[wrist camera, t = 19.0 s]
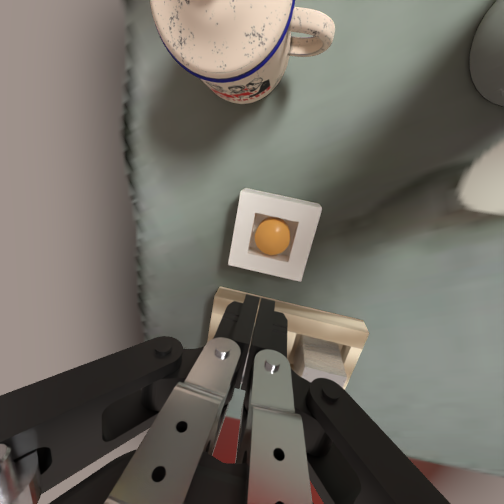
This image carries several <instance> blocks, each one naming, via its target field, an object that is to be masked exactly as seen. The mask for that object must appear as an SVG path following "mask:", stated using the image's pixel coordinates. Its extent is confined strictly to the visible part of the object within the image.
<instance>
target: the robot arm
mask: <svg viewBox="0 0 504 504" xmlns="http://www.w3.org/2000/svg"><path fill="white" fill-rule="evenodd" d="M470 72H471V77H472V80H473V82H474V84H475V87H476V89H477V90H478V91H479V92H480V93H481V95H482V96H483V97H484V98H486V99H487V100H489V101H491V102H492V103H494V104H498V105H501V106H504V0H497V1H496V2H495V3H494V4H493V5H492V6H491V8H490V9H489V10H488V11H487V13H486V15H485V16H484V18H483V20H482V21H481V23H480V24H479V27H478V29H477V31H476V34H475V36H474V39H473V43H472V47H471V51H470ZM259 300H260V297H258V296H254V295H249V294H246V296H245V299H244V302H243V303H241V302H237V301H233V302H231V303H230V304H229V305H227V307H226V310H225V312H224V315H223V317H222V319H221V322H220V324H219V326H218V329H217V331H216V333H215V336H214V338H213V339H211V340H210V341H208V342H207V344H206V345H205V347H202V348H198V349H183V346H182V344H181V343H180V342H179V341H178V340H177V339H175V338H172V337H166V336H164V337H157V338H154V339H151V340H149V341H146V342H143V343H141V344H138V345H135V346H132V347H130V348H127V349H125V350H122V351H119V352H116V353H114V354H111V355H108V356H106V357H103V358H100V359H98V360H95V361H92V362H90V363H87V364H84V365H81V366H79V367H76V368H74V369H71V370H68V371H65V372H63V373H60V374H57V375H55V376H52V377H49V378H47V379H44V380H41V381H39V382H36V383H33V384H31V385H28V386H25V387H22V388H20V389H17V390H14V391H12V392H9V393H6V394H4V395H1V396H0V504H37V503H38V501H39V499H40V496H41V494H42V493H44V492H46V491H47V490H49V489H51V488H52V487H54V486H55V485H57V484H59V483H60V482H62V481H64V480H65V479H67V478H68V477H70V476H72V475H73V474H75V473H77V472H78V471H80V470H82V469H83V468H85V467H86V466H88V465H90V464H91V463H93V462H95V461H96V460H98V459H99V458H101V457H103V456H104V455H106V454H107V453H109V452H111V451H112V450H114V449H116V448H117V447H119V446H120V445H122V444H124V443H126V442H127V441H129V440H130V439H132V438H134V437H135V436H137V435H138V434H140V433H142V432H143V431H145V430H147V429H148V428H150V429H149V430H148V432H147V434H146V435H145V437H144V439H143V441H142V442H141V444H140V445H139V447H138V449H137V450H133V451H131V452H129V453H126V454H124V455H122V456H120V457H118V458H116V459H114V460H113V461H111V462H110V463H108V464H106V465H105V466H104V467H102V468H101V469H100V470H98V471H97V472H95V473H93V474H92V475H90V476H89V477H88V478H86V479H84V480H83V481H81V482H80V483H79V484H77V485H76V486H74V487H73V488H71V489H70V490H68V491H67V492H65V493H64V494H62V495H61V496H59V497H58V498H56V499H55V500H53V501H52V502H51V503H50V504H313V502H312V497H311V489H310V481H311V483H312V484H313V486H314V487H315V489H316V491H317V492H318V494H319V496H320V497H321V499H322V501H323V502H324V504H450V503H449V502H448V501H447V499H446V498H445V497H444V496H443V495H442V494H441V493H440V492H439V491H438V490H437V489H436V488H435V487H434V486H433V484H432V483H431V482H430V481H429V480H428V479H427V478H426V477H425V476H424V475H423V474H422V473H421V472H420V471H419V469H418V468H417V467H416V466H415V465H414V464H413V463H412V462H411V461H410V460H409V459H408V458H407V457H406V455H405V454H404V453H403V452H402V451H401V450H400V449H399V448H398V447H397V446H396V445H395V444H394V443H393V442H392V440H391V439H390V438H389V437H388V436H387V435H386V434H385V433H384V432H383V431H382V430H381V429H380V428H379V426H378V425H377V424H376V423H375V422H374V421H373V420H372V419H371V418H370V417H369V416H368V415H367V414H366V413H365V411H364V410H363V409H362V408H361V407H360V406H359V405H358V404H357V403H356V402H355V401H354V400H353V399H352V397H351V396H350V395H349V394H348V393H347V392H346V391H345V390H344V389H343V388H342V387H341V386H340V385H339V384H337V383H336V382H334V381H332V380H330V379H327V378H317V379H314V380H313V381H312V382H309V381H307V380H306V379H304V378H302V377H300V376H299V375H297V374H296V373H295V372H294V371H293V370H292V369H291V367H290V363H289V361H288V359H287V330H288V329H287V328H288V320H287V318H286V317H285V315H284V313H281V312H277V311H274V309H275V301H274V300H270V299H266V298H262V297H261V301H260V305H259ZM258 305H259V309H258ZM257 309H258V313H257ZM256 314H257V317H256ZM255 319H256V322H255ZM254 323H255V326H254ZM253 328H254V330H253ZM252 332H253V335H252ZM251 337H252V339H251ZM250 342H251V344H250ZM249 346H250V349H249ZM248 350H249V353H248ZM247 354H248V358H247ZM246 359H247V363H246ZM245 363H246V367H245ZM244 367H245V372H244V377H243V381H242V386H241V389H242V390H245V391H246V392H245V397H244V402H243V406H242V410H241V419H240V428H239V438H238V446H237V455H236V463H235V464H226V463H222V462H221V461H219V460H218V459H216V458H214V457H213V456H212V454H213V451H214V448H215V445H216V442H217V439H218V436H219V433H220V430H221V427H222V424H223V421H224V418H225V415H226V412H227V409H228V406H229V402H230V401H231V399H232V396H233V392H234V388H238V389H239V388H240V384H241V379H242V375H243V371H244ZM309 479H310V480H309Z"/></svg>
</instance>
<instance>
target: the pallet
mask: <svg viewBox="0 0 504 504" xmlns="http://www.w3.org/2000/svg"><path fill="white" fill-rule="evenodd" d="M246 294H249V295H254V294H250V293H246V292H242V291H238V290H233V289H229V288H225V287H221V286H220V287H219V289H218V291H217V293H216V294H215V297H214V303H213V309H212V315H211V322H210V328H209V334H208V340H207V342H208V341H210V340H211V339H213V338H214V336H215V333H216V331H217V329H218V326H219V324H220V322H221V319H222V317H223V315H224V312H225V310H226V307H227V305H229V304H230V303H231V302H233V301H237V302H241V303H243V302H244V299H245V296H246ZM254 296H258V297H260V300H259V305H260V301H261V297H262V298H266V299H270V300H274V301H275V309H274V311H277V312H281V313H284V315H285V317H286V318H287V320H288V328H287V329H288V330H287V359H288V361H289V363H290V367H291V369H292V370H293V371H294V362H293V358H294V355H295V351H296V348H297V345H298V342H299V339H300V336H301V335H306V336H310V337H314V338H318V339H322V340H326V341H330V342H334V343H338V346H339V350H340V354H341V357H342V361H343V365H344V368H345V372H346V375H347V379H346V381H345V384H344V386H343V389H344V390H345V388H346V386H347V384H348V381H349V379H350V377H351V374H352V372H353V370H354V367H355V365H356V363H357V360H358V358H359V356H360V354H361V351H362V349H363V347H364V344H365V342H366V340H367V337H368V335H369V332H368V330H367V327H366V325H365V323H364V321H363V320H359V319H355V318H351V317H347V316H343V315H338V314H334V313H330V312H326V311H322V310H317V309H313V308H309V307H305V306H301V305H296V304H292V303H288V302H284V301H280V300H275V299H271V298H267V297H263V296H259V295H254ZM259 305H258V309H259ZM258 309H257V313H258ZM256 317H257V314H256ZM255 322H256V319H255Z"/></svg>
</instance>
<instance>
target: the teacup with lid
mask: <svg viewBox="0 0 504 504" xmlns="http://www.w3.org/2000/svg"><path fill="white" fill-rule="evenodd" d="M150 4H151V10H152V14H153V18H154V21H155V24H156V28H157V30H158V33H159V35H160V38H161V40H162V42H163V44H164V45H165V47H166V49H167V50H168V52H169V53H170V54H171V56H172V57H173V58H174V59H175V61H176V62H177V63H178V64H179V65H180V66H181V67H183V68H184V69H185V70H186V71H188V72H189V73H191V74H192V75H194V76H196V77H198V78H199V79H201V80H202V81H203V82H204V83H205V84H206V85H207V86H208V87H209V88H210V89H211V90H212V91H213V92H214V93H215V94H216V95H218V96H219V97H221V98H222V99H224V100H226V101H229V102H232V103H237V104H247V103H252V102H255V101H258V100H260V99H262V98H264V97H265V96H267V95H268V94H269V93H270V92H271V91H272V90H273V89H274V88H275V87H276V86H277V84H278V83H279V82H280V80H281V78H282V77H283V75H284V72H285V70H286V67H287V64H288V60H289V56H297V57H310V56H315V55H318V54H321V53H323V52H324V51H326V50H327V49H328V48H329V47H330V45H331V44H332V41H333V37H334V33H335V25H334V22H333V21H332V19H331V18H330V17H328V16H327V15H326V14H324V13H322V12H320V11H317V10H313V9H308V8H300V7H294V4H295V0H150ZM291 32H299V33H305V34H310V35H313V37H293V36H291Z"/></svg>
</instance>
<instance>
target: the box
mask: <svg viewBox="0 0 504 504" xmlns="http://www.w3.org/2000/svg"><path fill="white" fill-rule="evenodd" d="M321 211H322V207H321V206H320V204H319V203H314V202H310V201H305V200H300V199H296V198H291V197H286V196H282V195H277V194H272V193H268V192H263V191H258V190H254V189H249V188H244V189H243V190H241V193H240V199H239V204H238V210H237V216H236V222H235V227H234V233H233V239H232V245H231V250H230V256H229V262H228V265H231V266H235V267H240V268H244V269H248V270H252V271H257V272H261V273H265V274H270V275H274V276H278V277H283V278H287V279H291V280H295V281H300V282H301V280H302V276H303V273H304V269H305V266H306V262H307V259H308V256H309V252H310V249H311V245H312V242H313V239H314V235H315V232H316V228H317V225H318V221H319V218H320V215H321ZM269 217H278V218H281V219H282V220H284V221H285V222H286V223H287V225H288V226H289V229H290V242H289V245H288V247H287V248H286V249H285V250H284V251H283V252H282V253H280V254H276V255H269V254H266V253H264V252H262V251H261V250H260V249H259V248H258V247H257V245H256V243H255V233H256V230H257V228H258V226H259V224H260V223H261V222H262V221H263V220H264V219H266V218H269Z"/></svg>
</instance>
